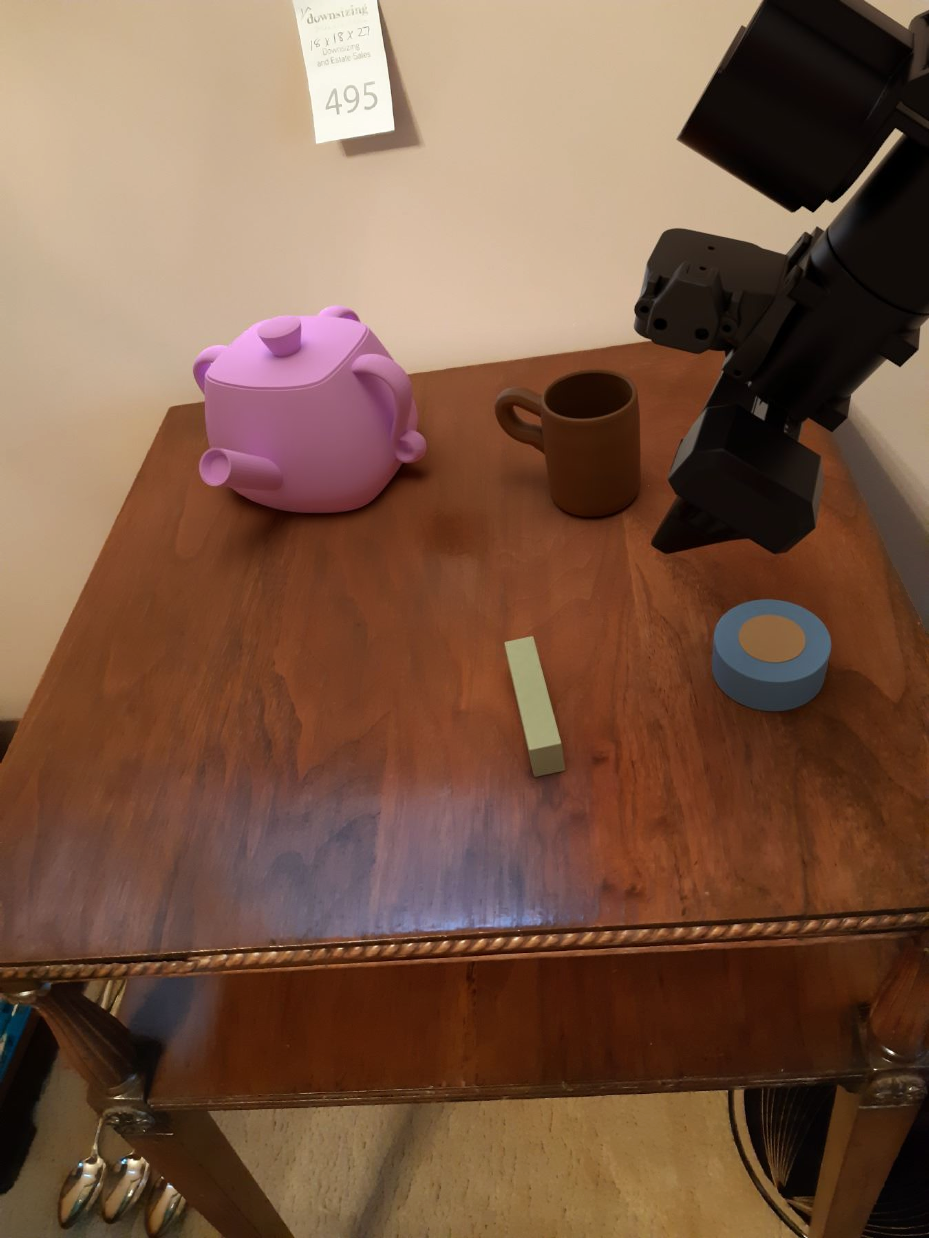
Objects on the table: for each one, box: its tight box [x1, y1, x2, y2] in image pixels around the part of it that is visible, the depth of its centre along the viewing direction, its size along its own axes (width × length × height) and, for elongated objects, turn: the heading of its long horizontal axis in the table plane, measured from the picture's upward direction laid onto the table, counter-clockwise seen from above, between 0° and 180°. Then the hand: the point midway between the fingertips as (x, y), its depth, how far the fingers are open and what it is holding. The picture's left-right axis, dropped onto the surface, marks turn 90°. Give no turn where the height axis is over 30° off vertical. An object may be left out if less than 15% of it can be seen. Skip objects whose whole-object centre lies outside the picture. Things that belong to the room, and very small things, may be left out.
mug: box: [494, 368, 642, 518], centre depth 68 cm, size 12×8×9 cm, turn 64°
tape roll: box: [711, 598, 832, 712], centre depth 54 cm, size 7×7×3 cm
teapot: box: [192, 305, 428, 514], centre depth 74 cm, size 19×21×14 cm
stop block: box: [504, 635, 566, 778], centre depth 54 cm, size 2×9×3 cm, turn 8°
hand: (677, 494), depth 47 cm, fingers open, 9 cm apart
